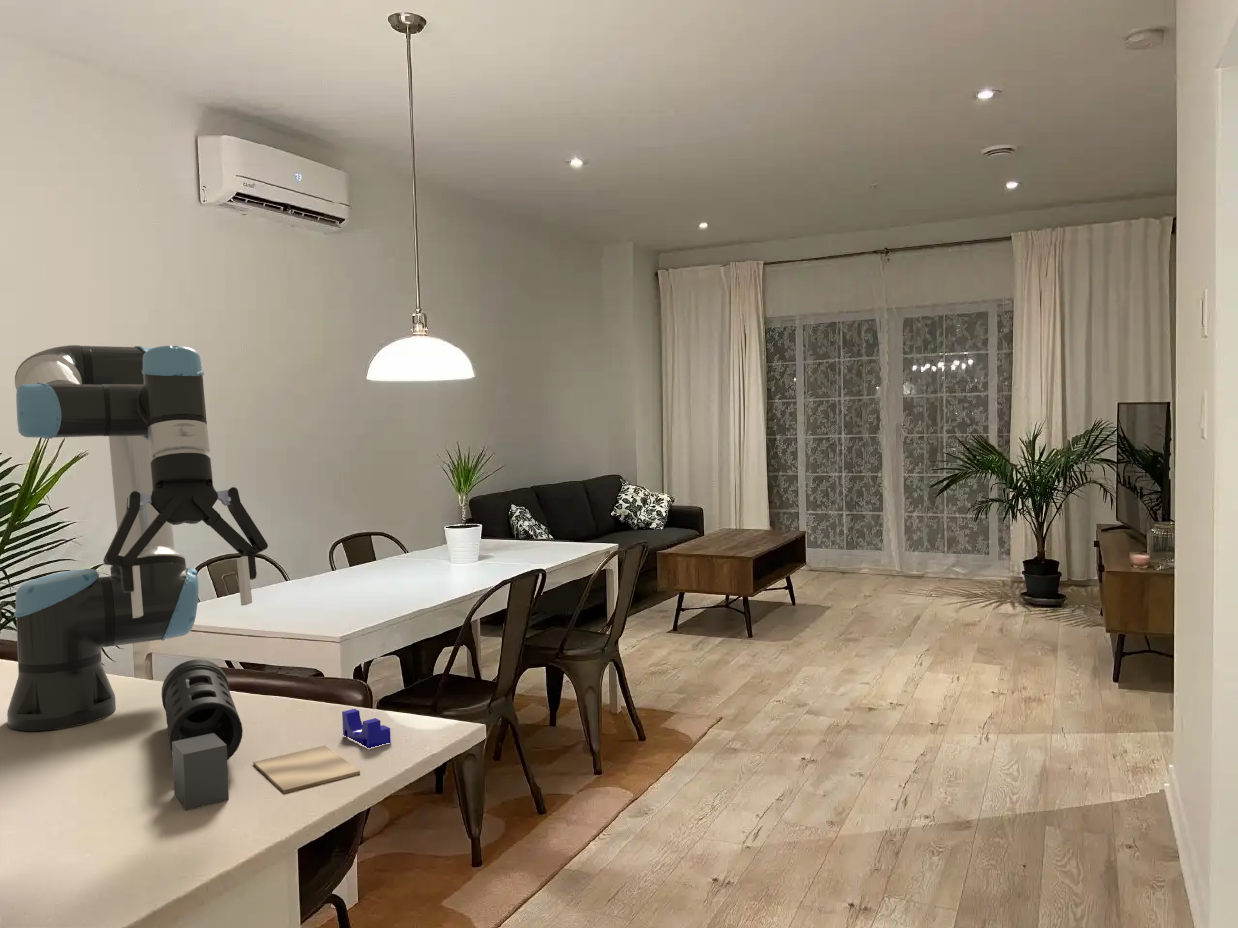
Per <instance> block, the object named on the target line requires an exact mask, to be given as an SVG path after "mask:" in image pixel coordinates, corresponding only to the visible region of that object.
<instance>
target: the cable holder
mask: <svg viewBox="0 0 1238 928" xmlns="http://www.w3.org/2000/svg"><path fill="white" fill-rule="evenodd" d="M341 712H342V713H341V714H342V716H341V717H342V736H343V735H344V736H346V737H349V738H351V739H353V740H355V741H357V742H359V743H361V744H362V745H364V746H366V747H367V748H371V747H375V746H379V745H382V744H386V743H392V742H391V728H390V727H389V726H386V725H385V724H382V725H381V720H380V719H378V718H376V717H375V718H371V719H367V720H364V721H362V719H361V716H360V710H358V709H356V708H352V709H348V710H344V711H341Z"/></svg>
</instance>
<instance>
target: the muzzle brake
mask: <svg viewBox="0 0 1238 928" xmlns="http://www.w3.org/2000/svg"><path fill="white" fill-rule="evenodd" d="M223 670H224V669H222V668H221V667H220V666H219V665H218V664H216V663H215V662H212V661H210V660H207V659H190V660H187V661H184V662H181V663H180V664H178V665H176V666H175V667H174V668H172V670H171V671H170V672H168V674H166V676H165V678H164V680H163V682H162V686H161V701H162V706H163V709H164V711H165V716H166V725H167V733H168V734H167V735H168V742H169V748H170V752H172V742H173V741H178V740H183V739H187V738H192V737H197V736H202V735H207V734H211V733H214V734H215V735H217V736H218V737H219V738H220V739H221V740H222V741H223V742H224V743H225V744H226V745H227V761H228V760H229V759H231V757H233V756H234V755H235V753H236V752H237V751H238V749H239V746H240V745H241V743H242V739H243V729H244V728H243V723H242V721H241V718H240V715H239V712H238V710H237V708H236V704H235V703H234V700H233V697H232V695H231V692H230V690H231V689H230V684H229V681H228V678H227V675H226V674H225V672H224V671H223Z"/></svg>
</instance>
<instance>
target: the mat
mask: <svg viewBox="0 0 1238 928" xmlns="http://www.w3.org/2000/svg"><path fill="white" fill-rule="evenodd" d="M252 764H253V766H254V767H255V768H256V769H257V770H258V771H259V772H261V774H262V775H264V777H266V778H267V779H268V780H269V781H270V782H272V784H274V785H275V786H276V787H277V788H278V790H280V791H281V792H282V793H283V794H288V793H290V792H294V791H298V790H304V789H306V788H310V787H314V786H318V785H323V784H325V783H326V784H327V783H329V782H333V781H337V780H338V781H339V780H342V779H345V778H346V779H347V778H350V777H354V776H357V775H361V770H360V769H359V768H357V767H356V766H355V765H352V764H351V763H350V762H349V761H347V760H346V759H345V758H343V757H342V756H340V755H339V754H338V753H336V752H335V751H333V750H332V749H331V748H329V747H328V746H327V745H321V746H317V747H312V748H307V749H304V750H299V751H295V752H290V753H287V754H282V755H277V756H273V757H269V758H265V759H260V760H256V761H253V763H252Z"/></svg>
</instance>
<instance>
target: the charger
mask: <svg viewBox="0 0 1238 928" xmlns="http://www.w3.org/2000/svg"><path fill="white" fill-rule="evenodd" d="M171 754H172V770H173V776H172V777H173V796H174V798H175V799H176V800H177V801H178V803H179V804H180V805H181V807H182V808H183V810H184V811H186V812H188V811H193V810H195V809H200V808H202V807H207V806H211V805H212V806H213V805H214V804H219V803H223V802H227V801H230V795H229V769H228V767H229V766H228V760H227V745H226V744H225V743H224V742H223V741H222V740H221V739H220V738H219V737H218V736H217V735H215V734H214V733H211V734H207V735H202V736H197V737H192V738H187V739H183V740H178V741H173V742H172V751H171Z"/></svg>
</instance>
